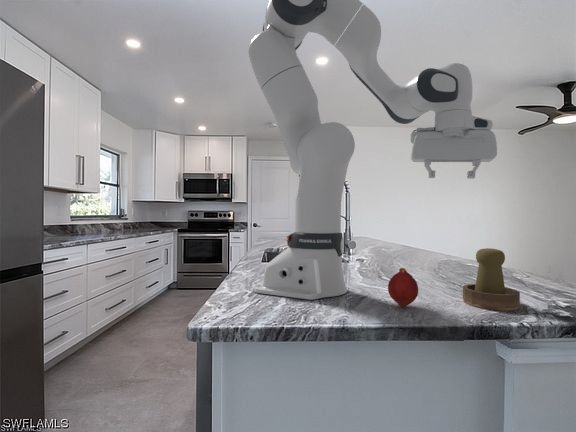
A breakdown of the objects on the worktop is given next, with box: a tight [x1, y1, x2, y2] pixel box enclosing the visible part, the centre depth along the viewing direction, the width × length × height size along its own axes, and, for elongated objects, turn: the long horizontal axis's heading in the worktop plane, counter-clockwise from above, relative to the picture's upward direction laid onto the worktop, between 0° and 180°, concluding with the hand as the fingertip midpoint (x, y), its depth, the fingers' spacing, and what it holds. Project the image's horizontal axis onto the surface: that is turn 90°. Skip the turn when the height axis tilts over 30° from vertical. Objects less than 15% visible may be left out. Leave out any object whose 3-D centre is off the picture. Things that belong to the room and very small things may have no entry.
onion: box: [387, 267, 419, 308], centre depth 66 cm, size 6×6×8 cm
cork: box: [475, 247, 506, 294], centre depth 68 cm, size 6×6×11 cm
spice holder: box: [462, 283, 521, 312], centre depth 68 cm, size 10×10×3 cm
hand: (451, 178), depth 85 cm, fingers open, 8 cm apart
